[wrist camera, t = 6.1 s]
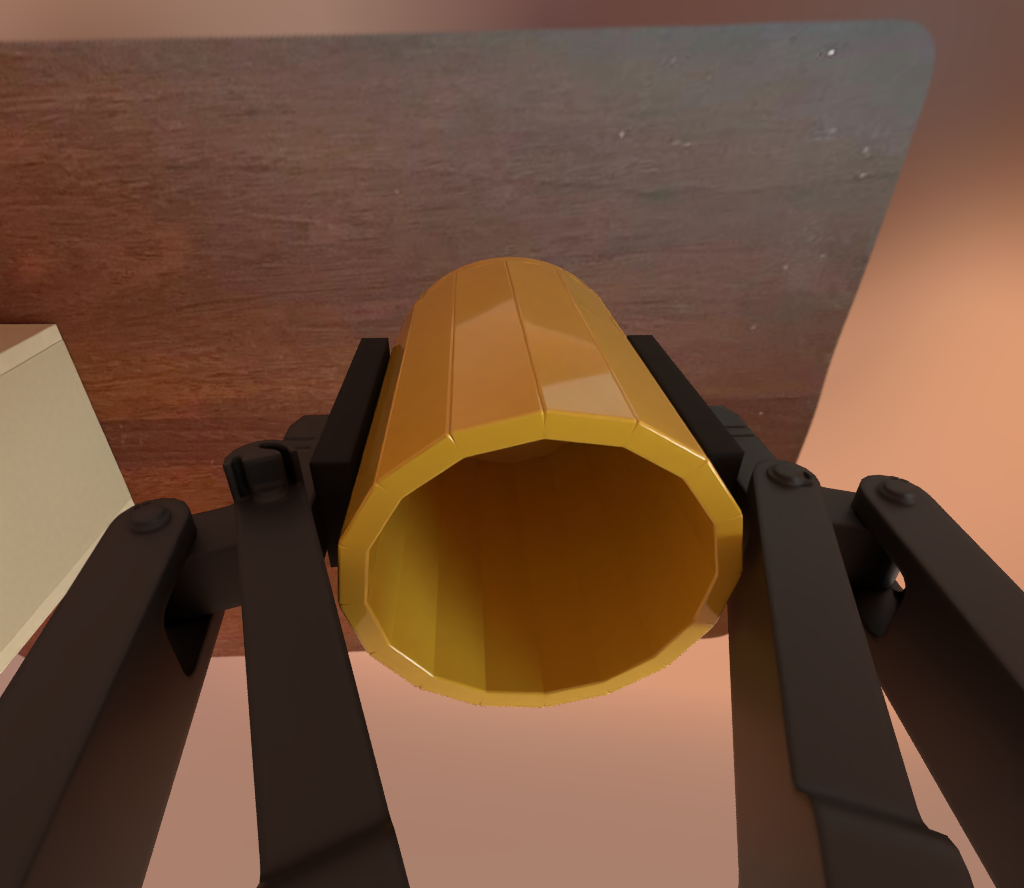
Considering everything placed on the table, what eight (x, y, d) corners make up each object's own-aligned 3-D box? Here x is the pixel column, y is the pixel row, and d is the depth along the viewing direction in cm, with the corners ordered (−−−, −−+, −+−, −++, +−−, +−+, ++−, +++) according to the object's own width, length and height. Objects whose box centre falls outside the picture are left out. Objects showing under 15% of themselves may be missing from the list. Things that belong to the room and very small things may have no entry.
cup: (345, 351, 16) (244, 570, 9) (538, 201, 15) (619, 316, 7) (486, 496, 20) (500, 747, 12) (657, 389, 18) (801, 605, 10)
